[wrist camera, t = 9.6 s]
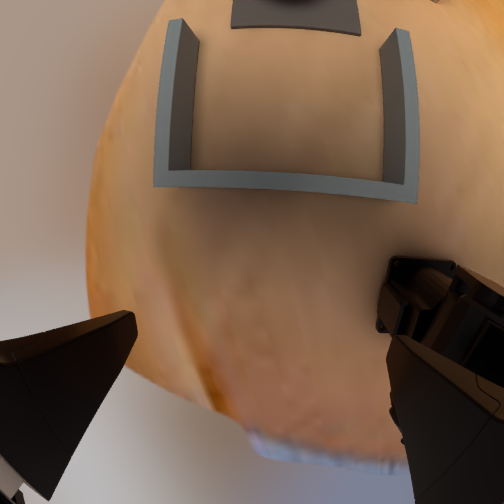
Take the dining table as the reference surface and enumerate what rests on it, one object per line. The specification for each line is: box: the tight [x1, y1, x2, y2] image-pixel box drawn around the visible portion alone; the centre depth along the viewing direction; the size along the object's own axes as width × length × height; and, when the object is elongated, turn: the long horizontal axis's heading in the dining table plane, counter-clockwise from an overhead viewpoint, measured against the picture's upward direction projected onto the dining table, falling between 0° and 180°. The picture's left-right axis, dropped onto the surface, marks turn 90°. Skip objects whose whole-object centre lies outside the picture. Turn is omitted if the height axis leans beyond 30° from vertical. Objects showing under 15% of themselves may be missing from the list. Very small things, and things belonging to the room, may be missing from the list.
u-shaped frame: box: [154, 18, 420, 204], centre depth 15 cm, size 16×12×4 cm
